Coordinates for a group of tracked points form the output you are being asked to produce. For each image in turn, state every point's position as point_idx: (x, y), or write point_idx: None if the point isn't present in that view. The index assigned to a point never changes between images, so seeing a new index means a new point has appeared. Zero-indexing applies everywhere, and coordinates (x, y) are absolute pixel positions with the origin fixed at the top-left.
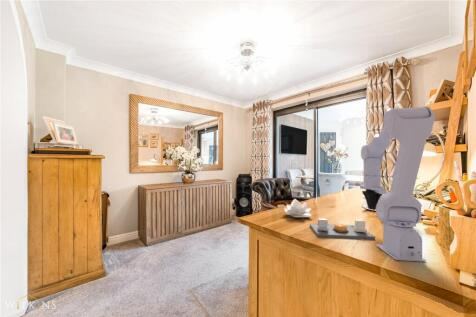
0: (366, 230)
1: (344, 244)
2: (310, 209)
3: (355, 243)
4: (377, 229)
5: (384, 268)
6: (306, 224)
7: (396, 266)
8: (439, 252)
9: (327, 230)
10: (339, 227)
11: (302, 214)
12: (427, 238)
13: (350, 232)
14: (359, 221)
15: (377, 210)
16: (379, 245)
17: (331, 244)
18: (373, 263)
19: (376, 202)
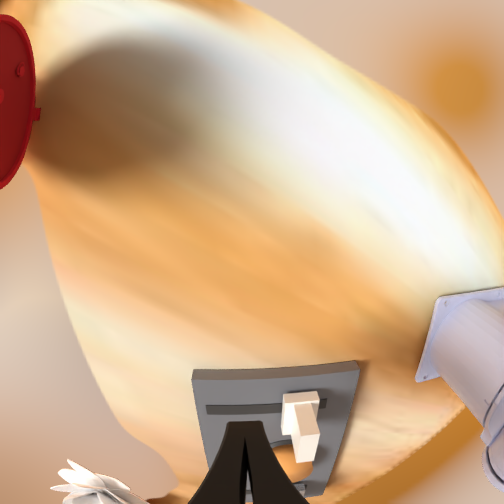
0: (318, 397)
1: (377, 445)
2: (87, 487)
3: (375, 423)
4: (187, 275)
5: None
6: None
7: None
8: (459, 167)
9: (303, 485)
10: (308, 475)
11: (110, 490)
12: (309, 67)
13: None
14: (315, 449)
15: (494, 472)
16: (423, 375)
17: (371, 466)
18: None
19: (277, 476)
